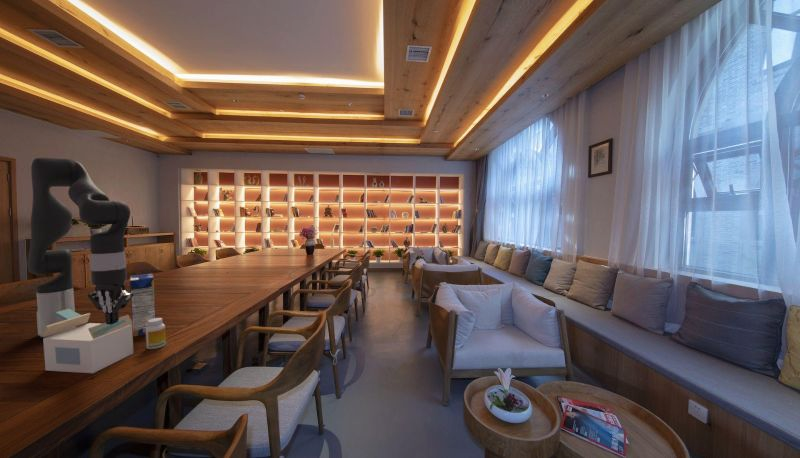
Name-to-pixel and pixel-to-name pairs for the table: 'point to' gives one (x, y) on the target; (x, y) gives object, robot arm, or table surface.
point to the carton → (86, 349)
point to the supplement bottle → (155, 334)
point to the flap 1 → (66, 321)
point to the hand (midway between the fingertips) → (112, 323)
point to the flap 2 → (109, 327)
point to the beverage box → (142, 302)
